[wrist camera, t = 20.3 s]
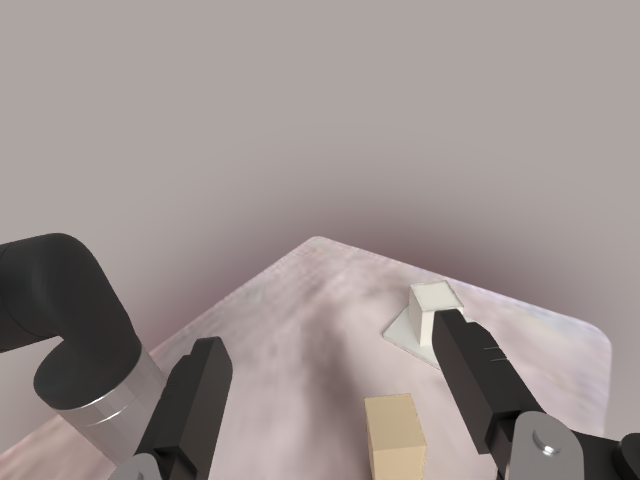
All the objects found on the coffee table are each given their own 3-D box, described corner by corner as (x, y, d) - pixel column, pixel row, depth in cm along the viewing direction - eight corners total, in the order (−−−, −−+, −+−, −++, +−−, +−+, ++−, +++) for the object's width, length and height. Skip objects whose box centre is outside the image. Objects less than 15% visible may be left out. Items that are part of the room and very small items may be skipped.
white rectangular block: (419, 345, 48) (422, 311, 44) (408, 317, 53) (409, 284, 49) (457, 341, 48) (463, 305, 44) (442, 313, 53) (446, 279, 49)
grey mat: (383, 338, 51) (383, 334, 51) (415, 299, 58) (415, 295, 58) (451, 376, 44) (452, 372, 43) (479, 326, 51) (480, 322, 50)
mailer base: (377, 509, 32) (373, 451, 25) (369, 461, 36) (364, 398, 29) (418, 505, 32) (426, 445, 25) (406, 457, 36) (410, 393, 29)
